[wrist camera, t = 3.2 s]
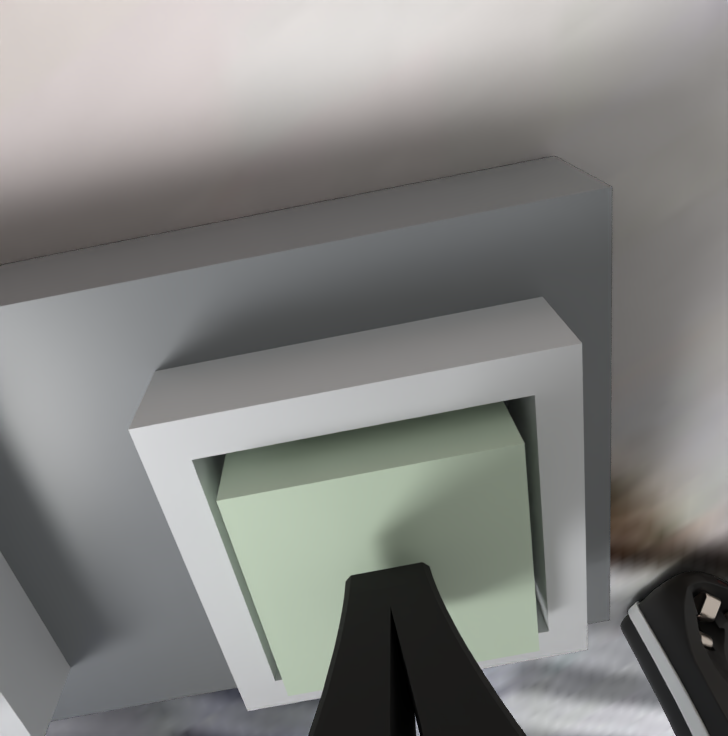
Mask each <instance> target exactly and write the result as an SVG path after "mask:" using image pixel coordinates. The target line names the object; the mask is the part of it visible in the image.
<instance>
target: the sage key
mask: <svg viewBox="0 0 728 736" xmlns="http://www.w3.org/2000/svg"><path fill="white" fill-rule="evenodd" d="M216 502H217V504H218V507H219V510H220V512H221V515H222V518H223V521H224V523H225V526H226V529H227V531H228V534H229V537H230V540H231V542H232V545H233V548H234V550H235V553H236V556H237V559H238V561H239V564H240V567H241V569H242V572H243V575H244V577H245V580H246V583H247V586H248V588H249V591H250V594H251V596H252V599H253V602H254V605H255V607H256V610H257V613H258V615H259V618H260V621H261V624H262V626H263V629H264V632H265V634H266V637H267V640H268V642H269V645H270V648H271V651H272V653H273V656H274V659H275V661H276V664H277V667H278V670H279V672H280V675H281V678H282V680H283V683H284V686H285V689H286V691H287V694H288V696H292V695H298V694H303V693H309V692H314V691H320V690H323V688H324V684H325V680H326V677H327V673H328V669H329V666H330V662H331V658H332V655H333V651H334V646H335V642H336V637H337V633H338V629H339V623H340V618H341V613H342V607H343V600H344V592H345V581H346V580H347V579H348V578H349V577H350V576H351V575H355V574H361V573H366V572H372V571H377V570H382V569H388V568H393V567H398V566H404V565H409V564H415V563H420V562H423V563H425V564H427V565H429V566H430V569H431V573H432V576H433V578H434V581H435V584H436V586H437V589H438V591H439V593H440V596H441V598H442V600H443V602H444V604H445V606H446V608H447V610H448V612H449V614H450V616H451V618H452V620H453V622H454V624H455V626H456V628H457V629H458V631H459V633H460V635H461V637H462V638H463V640H464V642H465V644H466V645H467V647H468V648H469V650H470V652H471V653H472V655H473V657H474V658H475V660H476V662H480V661H486V660H491V659H497V658H503V657H508V656H514V655H519V654H525V653H530V652H536V651H539V637H538V623H537V609H536V595H535V581H534V567H533V553H532V539H531V526H530V512H529V498H528V484H527V470H526V456H525V443H524V441H523V439H522V437H521V435H520V433H519V431H518V429H517V427H516V425H515V423H514V421H513V419H512V418H511V416H510V414H509V412H508V410H507V408H506V406H505V404H504V402H503V401H501V402H496V403H490V404H485V405H480V406H474V407H469V408H464V409H459V410H453V411H448V412H443V413H437V414H432V415H427V416H422V417H416V418H411V419H406V420H400V421H395V422H390V423H385V424H379V425H374V426H369V427H363V428H358V429H353V430H347V431H342V432H337V433H332V434H326V435H321V436H316V437H310V438H305V439H300V440H295V441H289V442H284V443H279V444H273V445H268V446H263V447H258V448H252V449H247V450H242V451H236V452H231V453H226V456H225V461H224V466H223V471H222V475H221V480H220V485H219V490H218V495H217V500H216Z"/></svg>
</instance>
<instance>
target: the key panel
mask: <svg viewBox="0 0 728 736" xmlns="http://www.w3.org/2000/svg"><path fill="white" fill-rule="evenodd" d="M611 321H612V186H610V185H608V184H606V183H604V182H603V181H601V180H599V179H597V178H595V177H593V176H591V175H589V174H588V173H586V172H584V171H582V170H580V169H578V168H576V167H575V166H573V165H571V164H569V163H567V162H565V161H563V160H562V159H560V158H558V157H556V156H552V157H547V158H542V159H537V160H532V161H526V162H521V163H516V164H511V165H506V166H501V167H496V168H491V169H486V170H481V171H476V172H471V173H466V174H460V175H455V176H450V177H445V178H440V179H435V180H430V181H425V182H420V183H415V184H410V185H405V186H400V187H394V188H389V189H384V190H379V191H374V192H369V193H364V194H359V195H354V196H349V197H344V198H339V199H334V200H328V201H323V202H318V203H313V204H308V205H303V206H298V207H293V208H288V209H283V210H278V211H273V212H268V213H262V214H257V215H252V216H247V217H242V218H237V219H232V220H227V221H222V222H217V223H212V224H207V225H202V226H196V227H191V228H186V229H181V230H176V231H171V232H166V233H161V234H156V235H151V236H146V237H141V238H136V239H130V240H125V241H120V242H115V243H110V244H105V245H100V246H95V247H90V248H85V249H80V250H75V251H70V252H64V253H59V254H54V255H49V256H44V257H39V258H34V259H29V260H24V261H19V262H14V263H9V264H4V265H0V736H45V734H46V732H47V729H48V726H49V724H50V722H51V721H56V720H62V719H67V718H73V717H79V716H84V715H90V714H95V713H101V712H106V711H112V710H117V709H123V708H128V707H134V706H139V705H145V704H150V703H156V702H161V701H167V700H172V699H178V698H183V697H189V696H194V695H200V694H205V693H211V692H217V691H222V690H228V689H233V688H238V690H239V692H240V694H241V697H242V699H243V701H244V704H245V706H246V708H247V711H252V710H257V709H263V708H268V707H274V706H279V705H285V704H290V703H296V702H302V701H307V700H313V699H318V698H321V695H322V691H323V690H320V691H314V692H309V693H303V694H298V695H292V696H288V694H287V691H286V689H285V686H284V683H283V680H282V678H281V675H280V672H279V670H278V667H277V664H276V661H275V659H274V656H273V653H272V651H271V648H270V645H269V642H268V640H267V637H266V634H265V632H264V629H263V626H262V624H261V621H260V618H259V615H258V613H257V610H256V607H255V605H254V602H253V599H252V596H251V594H250V591H249V588H248V586H247V583H246V580H245V577H244V575H243V572H242V569H241V567H240V564H239V561H238V559H237V556H236V553H235V550H234V548H233V545H232V542H231V540H230V537H229V534H228V531H227V529H226V526H225V523H224V521H223V518H222V515H221V512H220V510H219V507H218V504H217V502H216V500H217V495H218V490H219V485H220V480H221V475H222V471H223V466H224V461H225V456H226V453H231V452H236V451H242V450H247V449H252V448H258V447H263V446H268V445H273V444H279V443H284V442H289V441H295V440H300V439H305V438H310V437H316V436H321V435H326V434H332V433H337V432H342V431H347V430H353V429H358V428H363V427H369V426H374V425H379V424H385V423H390V422H395V421H400V420H406V419H411V418H416V417H422V416H427V415H432V414H437V413H443V412H448V411H453V410H459V409H464V408H469V407H474V406H480V405H485V404H490V403H496V402H501V401H503V402H504V404H505V406H506V408H507V410H508V412H509V414H510V416H511V418H512V419H513V421H514V423H515V425H516V427H517V429H518V431H519V433H520V435H521V437H522V439H523V441H524V443H525V456H526V470H527V484H528V498H529V512H530V526H531V539H532V553H533V567H534V581H535V595H536V609H537V623H538V637H539V651H536V652H530V653H525V654H519V655H514V656H508V657H503V658H497V659H491V660H486V661H480V662H477V663H478V665H479V666H480V668H481V669H485V668H490V667H496V666H501V665H507V664H512V663H518V662H523V661H529V660H534V659H540V658H546V657H551V656H557V655H562V654H568V653H573V652H579V651H584V650H588V638H587V624H592V623H597V622H603V621H609V620H610V494H611Z"/></svg>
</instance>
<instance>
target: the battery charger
mask: <svg viewBox="0 0 728 736" xmlns="http://www.w3.org/2000/svg"><path fill="white" fill-rule="evenodd" d="M621 629H622V632H623V634H624V636H625V637H626V639H627V641H628V643H629V645H630V647H631V649H632V650H633V652H634V654H635V656H636V658H637V660H638V662H639V664H640V666H641V668H642V670H643V671H644V673H645V675H646V677H647V679H648V681H649V683H650V685H651V687H652V689H653V691H654V693H655V695H656V696H657V698H658V700H659V702H660V704H661V706H662V708H663V710H664V712H665V714H666V716H667V718H668V720H669V722H670V724H671V727H672V729H673V731H674V733H675V735H676V736H728V582H727V581H724V580H722V579H720V578H718V577H715V576H713V575H709V574H706V573H702V572H696V571H690V572H684V573H681V574H678V575H676V576H674V577H672V578H670V579H669V580H667V581H665V582H664V583H662V584H661V585H660V586H658V587H657V588H656V589H654V590H653V591H652V592H651V593H650V594H649V595H648V596H647V597H646V598H645V599H644V600H642V601H641V602H636V603H635V604H634V605H633V606H632V607H631V608H630V609H629V610H628V615H627V616H626V617H625V618H624V619H623V621H622V623H621Z"/></svg>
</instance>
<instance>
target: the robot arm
mask: <svg viewBox="0 0 728 736" xmlns="http://www.w3.org/2000/svg"><path fill="white" fill-rule="evenodd" d="M415 716H416V720H417V725H418V729H419V733H420V736H526V734H525V733H524V732H523V730H522V729H521V727H520V726H519V725H518V723H517V722H516V720H515V719H514V718H513V716H512V715H511V713H510V712H509V710H508V709H507V708H506V706H505V705H504V703H503V702H502V700H501V699H500V698H499V696H498V695H497V693H496V691H495V690H494V688H493V687H492V685H491V684H490V682H489V681H488V679H487V678H486V676H485V675H484V673H483V671H482V670H481V668H480V666H479V665H478V663H477V662H476V660H475V658H474V657H473V655H472V653H471V652H470V650H469V648H468V647H467V645H466V644H465V642H464V640H463V638H462V637H461V635H460V633H459V631H458V629H457V628H456V626H455V624H454V622H453V620H452V618H451V616H450V614H449V612H448V610H447V608H446V606H445V604H444V602H443V600H442V598H441V596H440V593H439V591H438V589H437V586H436V584H435V581H434V578H433V576H432V573H431V569H430V566H429V565H427V564H425V563H423V562H420V563H415V564H409V565H404V566H398V567H393V568H388V569H382V570H377V571H372V572H366V573H361V574H355V575H351V576H350V577H349V578H348V579H347V580H346V581H345V592H344V600H343V607H342V613H341V618H340V623H339V629H338V633H337V637H336V642H335V646H334V651H333V655H332V658H331V662H330V666H329V669H328V673H327V677H326V680H325V684H324V688H323V691H322V695H321V698H320V702H319V705H318V708H317V711H316V714H315V717H314V720H313V723H312V726H311V729H310V732H309V735H308V736H416V726H415Z"/></svg>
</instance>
